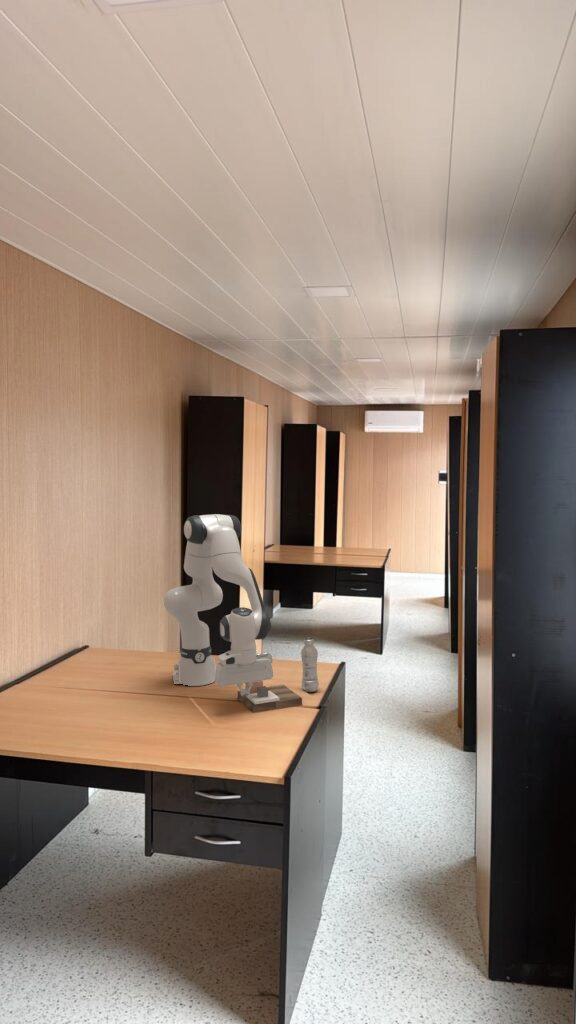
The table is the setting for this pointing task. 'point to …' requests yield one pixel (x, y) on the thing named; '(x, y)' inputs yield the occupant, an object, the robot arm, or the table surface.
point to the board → (285, 700)
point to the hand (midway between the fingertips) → (245, 694)
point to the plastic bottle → (309, 666)
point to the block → (254, 686)
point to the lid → (262, 696)
